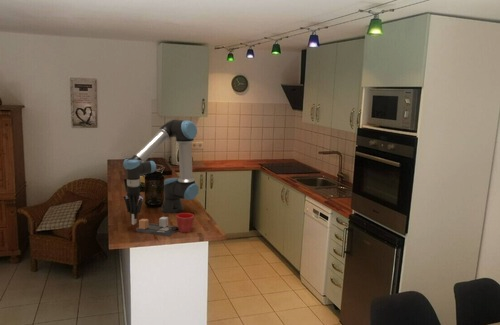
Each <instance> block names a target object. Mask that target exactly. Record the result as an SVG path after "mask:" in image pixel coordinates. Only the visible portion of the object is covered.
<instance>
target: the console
mask: <svg viewBox="0 0 500 325" xmlns="http://www.w3.org/2000/svg"><path fill="white" fill-rule="evenodd" d="M135 231H136V232H137V233H145V234H150V235H151V234H152V235H158V236H165V237H170V236H171V235H173V234H175V233H176V232H179V230H178V226H173V225H168V226H166V227H160V226H159V224H157V223H152V222H151V223H149V222H148V228H146V229H139V226H138V227H136V228H135Z"/></svg>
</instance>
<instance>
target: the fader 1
mask: <svg viewBox="0 0 500 325" xmlns="http://www.w3.org/2000/svg"><path fill="white" fill-rule="evenodd" d="M148 223H149V219H148V218H141V219H139V220H138V227H139V229H146V228H148Z"/></svg>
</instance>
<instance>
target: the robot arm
mask: <svg viewBox="0 0 500 325" xmlns="http://www.w3.org/2000/svg"><path fill="white" fill-rule="evenodd" d="M197 134H198V129H197V126H196V124H195V123H194V122H193V121H191V120H187V119H186V120H185V119H172V120H169V121H167V122H166V123H164V124H162V126H160V127H159V128H158V129H157V132H156V133H155V134H154V135H153V136H152V137H151V138H150V139H149V140H148V141H147V142H145V144H144V145H143V146H142V147H141V148H140V149H139V150H138V151H136V153H134V155H133V156H132V157H129V158H125V159H124V160H123V163H122V166H123V168H124V170H126V192H127V194H126V195H124V196H123V199H124V202H125V206H126V212H127V213H129V214H130V219H131V225H133V226H134V225H136V224H137V219H138V214H139V213H141V212H142V211H141V210H142V206H143V205H142V204H143V201H144V199H145V197H143V196H141V193H140V192H141V186H140V185H141V176H142V175H147V174H153V173H154V172H156V170H157V164H156V162H155V161H154V160H148V159H149V158H150V157H151V156H152V155H153V154H154V153H155V152H156V151H157V150H158V149H159V148H160V147H161V146H162V145H163V144H164V143H165V142H166V141H169V140H170V139H172V138H175V141H176V142H177V145H178V161H179V164H178V166H179V168H178V169H179V177H170V178H166V179H164V181H163V197H164V198H163V202H162V205H161V211H162V212H163V213H167V214H176V213H177V214H178V213H182V212H183V211H184V205H183V202H182V199H183V200H186V201H188V200H189V201H192V200H195V199H196V197H197V196H198V195H199V190H200V188H199V187H200V186H199V185H198V184H197V183H196V179H195V178H194V177H193V175H194V174H193V154H192V153H193V151H192V150H193V149H192V143H193V142H194V139H195V138H196V137H197Z"/></svg>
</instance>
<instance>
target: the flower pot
mask: <svg viewBox="0 0 500 325" xmlns="http://www.w3.org/2000/svg"><path fill="white" fill-rule="evenodd" d="M175 217H176V223H177V227H178V232H180V233H191V232H192V229H193V223H194V219H195V215H194V214H193V213H190V212H179V213H177V214H176V216H175Z"/></svg>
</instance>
